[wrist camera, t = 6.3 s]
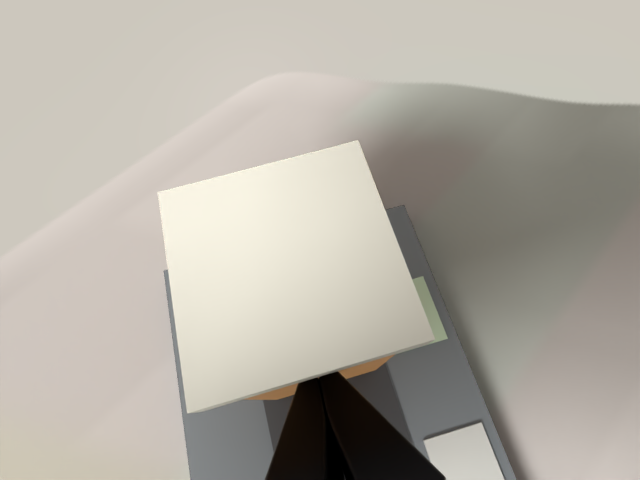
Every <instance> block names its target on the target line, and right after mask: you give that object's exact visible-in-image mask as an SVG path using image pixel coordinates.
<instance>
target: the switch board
mask: <svg viewBox="0 0 640 480" xmlns="http://www.w3.org/2000/svg"><path fill="white" fill-rule="evenodd" d="M385 211H386V213H387V216H388V218H389V221H390V224H391V226H392V229H393V231H394V234H395V237H396V239H397V242H398V244H399V247H400V249H401V252H402V255H403V257H404V260H405V262H406V265H407V268H408V270H409V273H410V275H411V278H412V280H413V283H414V286H415V288H416V291H417V293H418V296H419V299H420V301H421V304H422V306H423V309H424V311H425V314H426V317H427V319H428V322H429V324H430V327H431V330H432V332H433V335H434V337H435V340H434V341H432V342H430V343H429V344H427V345H424V346H421V347H417V348H414V349H411V350H407V351H404V352H401V353H397V354H395V355H394V356H393V357H391V358H390V359H389V360H388V361H386V362H385V363H384V364H383V365H381V366H380V367H379V368H378V369H377V370H375V371H371V372H368V373H365V374H361V375H358V376H355V377H351V378H348V379H347V380H348V381H349V382H350V383H351V384H352V385H353V386H354V387H355V388H356V389H357V390H358V391H359V392H360V393H361V394H362V395H363V396H364V397H365V398H366V399H367V400H368V401H369V402H370V403H371V404H372V405H373V406H374V407H375V408H376V409H377V410H378V411H379V412H380V413H381V414H382V415H383V416H384V417H385V418H386V419H387V420H388V421H389V422H390V423H391V424H392V425H393V426H394V427H395V428H396V429H397V430H398V431H399V432H400V433H401V434H402V435H403V436H404V437H405V438H406V439H408V440H409V441H410V442H411V443H412V444H413V445H414V446H415V447H416V448H417V449H418V450H419V451H420V452H421V453H422V454H423V455H424V456H425V457H426V458H427V459H428V460H429V461H430V462H431V463H432V464H433V465H434V466H435V467H436V468H437V469H438V470H439V471H440V472H441V473H442V474H443V475H444V476H445V477H446V480H517V479H516V477H515V474H514V472H513V470H512V467H511V465H510V462H509V460H508V457H507V455H506V452H505V450H504V448H503V445H502V443H501V440H500V438H499V435H498V433H497V431H496V428H495V426H494V423H493V421H492V418H491V416H490V413H489V411H488V409H487V406H486V404H485V401H484V399H483V396H482V394H481V392H480V389H479V387H478V384H477V382H476V379H475V377H474V375H473V372H472V370H471V367H470V365H469V362H468V360H467V357H466V355H465V353H464V350H463V348H462V345H461V343H460V340H459V338H458V336H457V333H456V331H455V328H454V326H453V323H452V321H451V318H450V316H449V314H448V311H447V309H446V306H445V304H444V301H443V299H442V297H441V294H440V292H439V289H438V287H437V284H436V282H435V279H434V277H433V275H432V272H431V270H430V267H429V265H428V262H427V260H426V258H425V255H424V253H423V250H422V248H421V245H420V243H419V241H418V238H417V236H416V233H415V231H414V228H413V226H412V223H411V221H410V219H409V216H408V214H407V211H406V209H405V206H404V205H401V206H398V207H394V208H390V209H387V210H385ZM164 277H165V284H166V292H167V300H168V308H169V316H170V323H171V331H172V339H173V347H174V354H175V362H176V370H177V378H178V385H179V393H180V401H181V409H182V417H183V424H184V432H185V440H186V448H187V455H188V463H189V471H190V479H191V480H264V479H265V477H266V474H267V471H268V468H269V465H270V462H271V459H272V457H273V454H274V451H275V448H276V445H277V442H278V439H279V437H280V434H281V431H282V428H283V425H284V422H285V419H286V417H287V414H288V411H289V408H290V405H291V402H292V399H293V397H294V395H291V396H288V397H285V398H281V399H278V400H240V401H236V402H233V403H230V404H226V405H223V406H220V407H216V408H213V409H210V410H206V411H203V412H197V413H187V409H186V402H185V394H184V387H183V379H182V372H181V364H180V357H179V349H178V342H177V334H176V327H175V319H174V312H173V304H172V297H171V289H170V282H169V274H168V270H164ZM344 477H345V476H344ZM345 480H346V479H345Z"/></svg>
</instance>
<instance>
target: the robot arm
mask: <svg viewBox="0 0 640 480" xmlns="http://www.w3.org/2000/svg"><path fill="white" fill-rule="evenodd" d="M344 476H345V477H344ZM345 479H346V480H446V477H445V476H444V475H443V474H442V473H441V472H440V471H439V470H438V469H437V468H436V467H435V466H434V465H433V464H432V463H431V462H430V461H429V460H428V459H427V458H426V457H425V456H424V455H423V454H422V453H421V452H420V451H419V450H418V449H417V448H416V447H415V446H414V445H413V444H412V443H411V442H410V441H409V440H408V439H406V438H405V437H404V436H403V435H402V434H401V433H400V432H399V431H398V430H397V429H396V428H395V427H394V426H393V425H392V424H391V423H390V422H389V421H388V420H387V419H386V418H385V417H384V416H383V415H382V414H381V413H380V412H379V411H378V410H377V409H376V408H375V407H374V406H373V405H372V404H371V403H370V402H369V401H368V400H367V399H366V398H365V397H364V396H363V395H362V394H361V393H360V392H359V391H358V390H357V389H356V388H355V387H354V386H353V385H352V384H351V383H350V382H349V381H348V380H347V379H346V378H345V377H344V376H342V375H341V374H340V373H339V372H338V371H337V372H334V373H330V374H327V375H324V376H320V377H319V379H318V377H317V378H313V379H310V380H307V381H303V382H300V383H298V385H297V388H296V391H295V394H294V397H293V399H292V402H291V405H290V408H289V411H288V414H287V417H286V419H285V422H284V425H283V428H282V431H281V434H280V437H279V439H278V442H277V445H276V448H275V451H274V454H273V457H272V459H271V462H270V465H269V468H268V471H267V474H266V477H265V479H264V480H345Z"/></svg>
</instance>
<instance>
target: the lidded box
mask: <svg viewBox="0 0 640 480" xmlns="http://www.w3.org/2000/svg"><path fill="white" fill-rule="evenodd" d="M158 199H159V207H160V214H161V222H162V229H163V237H164V244H165V252H166V259H167V267H168V274H169V282H170V289H171V297H172V304H173V312H174V319H175V327H176V334H177V342H178V349H179V357H180V364H181V372H182V379H183V387H184V394H185V402H186V409H187V413H197V412H203V411H206V410H210V409H213V408H216V407H220V406H223V405H226V404H230V403H233V402H236V401H240V400H278V399H281V398H285V397H288V396H291V395H294V394H295V391H296V388H297V385H298V383H300V382H303V381H307V380H310V379H313V378H317V377H318V379H319V377H320V376H324V375H327V374H330V373H334V372H337V371H338V372H339V373H340V374H341V375H342V376H344V377H345V378H346V379H348V378H351V377H355V376H358V375H361V374H365V373H368V372H371V371H375V370H377V369H378V368H379V367H380V366H381V365H383V364H384V363H385V362H386V361H388V360H389V359H390V358H391V357H393V356H394V355H395V354H397V353H401V352H404V351H407V350H411V349H414V348H417V347H421V346H424V345H427V344H429V343H430V342H432V341H434V340H435V337H434V335H433V332H432V330H431V327H430V324H429V322H428V319H427V317H426V314H425V311H424V309H423V306H422V304H421V301H420V299H419V296H418V293H417V291H416V288H415V286H414V283H413V280H412V278H411V275H410V273H409V270H408V268H407V265H406V262H405V260H404V257H403V255H402V252H401V249H400V247H399V244H398V242H397V239H396V237H395V234H394V231H393V229H392V226H391V224H390V221H389V218H388V216H387V213H386V211H385V208H384V206H383V203H382V200H381V198H380V195H379V193H378V190H377V187H376V185H375V182H374V180H373V177H372V175H371V172H370V169H369V167H368V164H367V162H366V159H365V156H364V154H363V151H362V149H361V146H360V144H359V141H358V140H356V141H352V142H348V143H345V144H341V145H337V146H333V147H329V148H325V149H322V150H318V151H314V152H310V153H306V154H302V155H299V156H295V157H291V158H287V159H283V160H279V161H276V162H272V163H268V164H264V165H260V166H256V167H253V168H249V169H245V170H241V171H237V172H233V173H230V174H226V175H222V176H218V177H214V178H210V179H207V180H203V181H199V182H195V183H191V184H188V185H184V186H180V187H176V188H172V189H168V190H165V191H161V192H158Z"/></svg>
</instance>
